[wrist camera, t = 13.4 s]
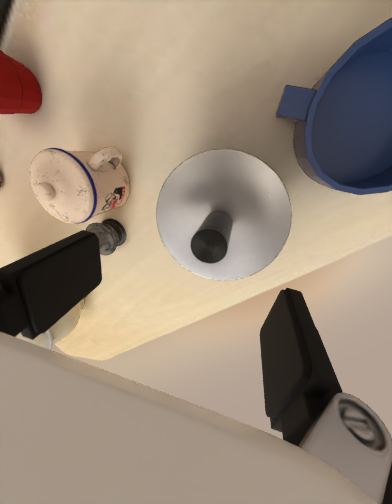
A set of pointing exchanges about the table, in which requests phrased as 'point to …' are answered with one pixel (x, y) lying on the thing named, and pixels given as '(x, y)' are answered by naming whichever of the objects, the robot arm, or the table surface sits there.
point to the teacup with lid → (79, 182)
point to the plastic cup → (17, 88)
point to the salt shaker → (108, 235)
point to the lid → (223, 214)
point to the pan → (347, 118)
